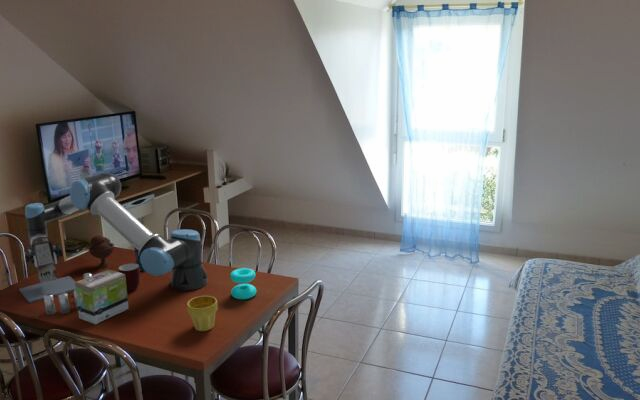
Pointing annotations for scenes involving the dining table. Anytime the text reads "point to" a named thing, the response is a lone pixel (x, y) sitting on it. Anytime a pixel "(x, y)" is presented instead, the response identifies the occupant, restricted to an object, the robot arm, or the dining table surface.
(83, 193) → the robot arm
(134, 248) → the soda can
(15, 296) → the dining table surface
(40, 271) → the coffee box
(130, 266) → the mug
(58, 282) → the felt mat
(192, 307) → the plant pot
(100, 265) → the ice cream bowl
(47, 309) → the posts
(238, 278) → the donuts
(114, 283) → the tea box
